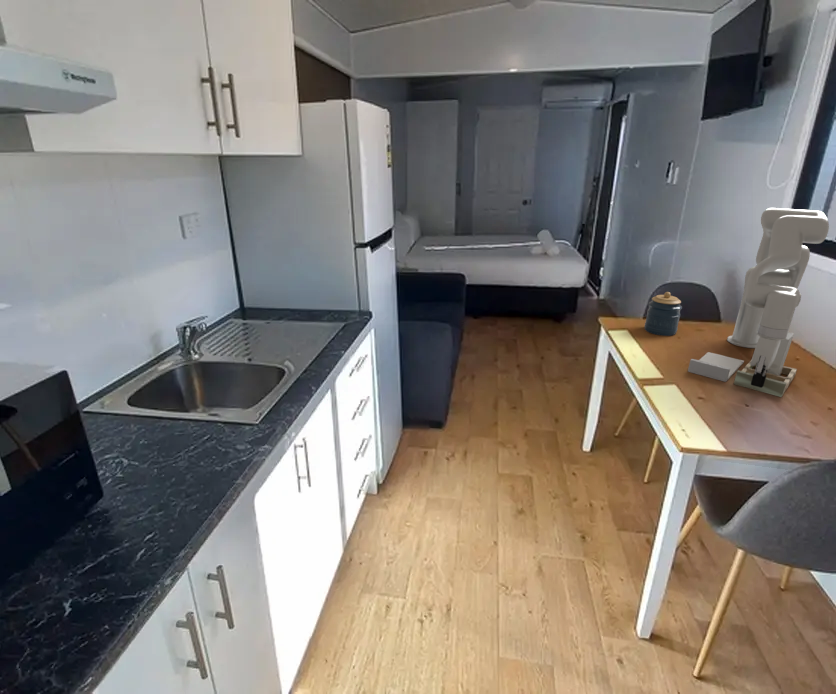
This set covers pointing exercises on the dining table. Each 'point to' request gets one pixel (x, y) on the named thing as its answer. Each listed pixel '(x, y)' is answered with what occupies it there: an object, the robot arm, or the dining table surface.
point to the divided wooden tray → (766, 380)
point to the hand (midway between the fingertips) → (756, 385)
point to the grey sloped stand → (715, 366)
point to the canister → (663, 315)
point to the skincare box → (781, 355)
